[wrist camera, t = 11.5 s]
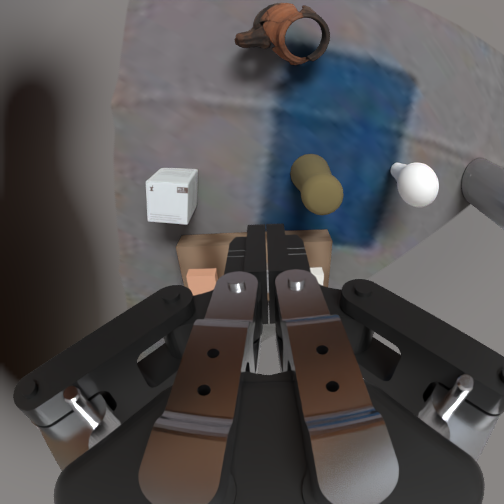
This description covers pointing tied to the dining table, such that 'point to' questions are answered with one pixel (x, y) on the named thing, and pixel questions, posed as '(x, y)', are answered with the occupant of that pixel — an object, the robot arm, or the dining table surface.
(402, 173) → the lightbulb
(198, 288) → the terracotta key
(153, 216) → the skincare box
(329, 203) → the olive rounded waisted cylinder
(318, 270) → the off-white key
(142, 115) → the dining table surface
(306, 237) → the key panel
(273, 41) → the pottery mug
